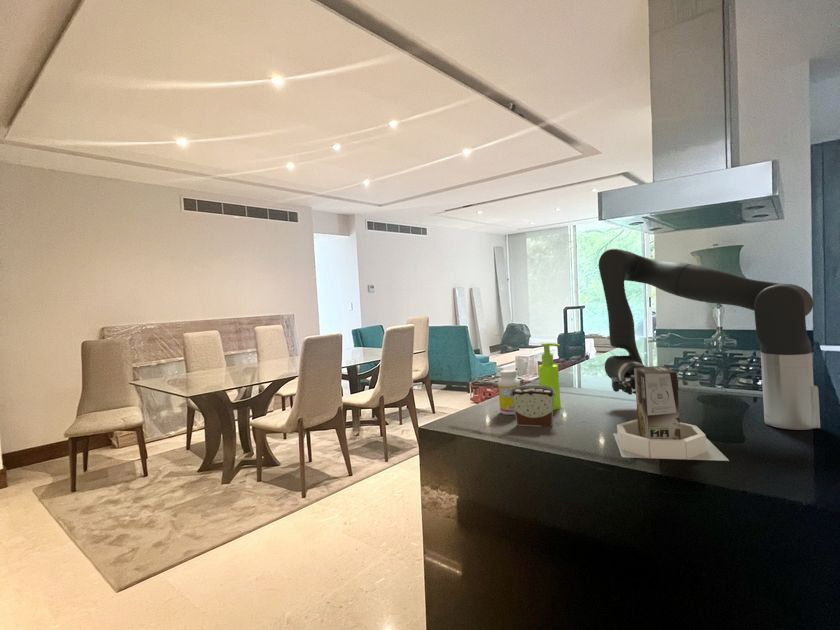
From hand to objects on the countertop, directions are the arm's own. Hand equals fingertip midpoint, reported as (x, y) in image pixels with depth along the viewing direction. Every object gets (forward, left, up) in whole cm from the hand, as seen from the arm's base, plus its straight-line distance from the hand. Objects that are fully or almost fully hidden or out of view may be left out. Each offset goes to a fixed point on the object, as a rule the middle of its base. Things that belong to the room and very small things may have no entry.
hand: (650, 389), depth 100 cm
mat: (-1, +6, -11) cm, 13 cm away
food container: (+27, -12, -12) cm, 32 cm away
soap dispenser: (+23, -29, -12) cm, 39 cm away
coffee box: (0, +6, -11) cm, 12 cm away
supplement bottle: (+35, -23, -12) cm, 43 cm away
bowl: (0, +6, -11) cm, 12 cm away
